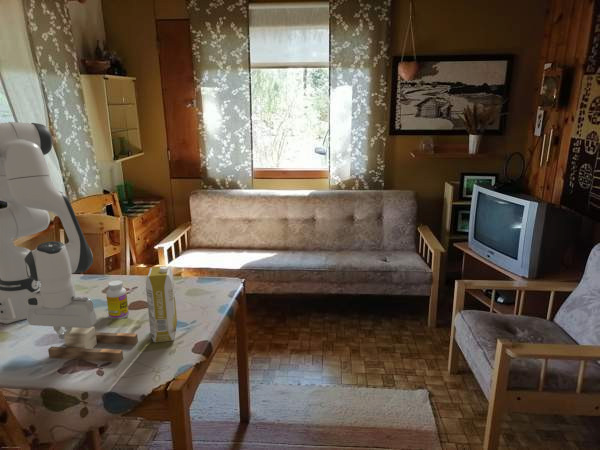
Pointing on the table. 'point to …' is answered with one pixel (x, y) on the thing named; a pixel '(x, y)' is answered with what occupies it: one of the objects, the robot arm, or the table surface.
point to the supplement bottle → (117, 300)
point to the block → (81, 338)
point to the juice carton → (161, 304)
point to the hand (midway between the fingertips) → (65, 338)
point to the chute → (96, 353)
